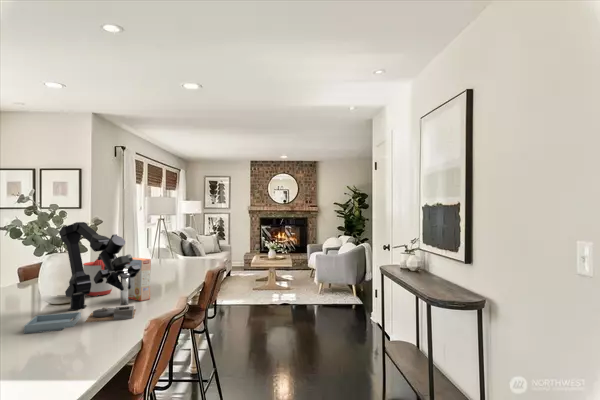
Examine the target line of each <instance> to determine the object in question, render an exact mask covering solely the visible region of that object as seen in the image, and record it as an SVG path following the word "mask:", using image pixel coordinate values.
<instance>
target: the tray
mask: <svg viewBox="0 0 600 400" xmlns="http://www.w3.org/2000/svg"><path fill="white" fill-rule="evenodd" d="M81 318H82V312H81V311H79V312H77V311H75V312H68V313H67V312H66V313H65V312H63V313H52V314H51V313H50V314H40V315H38V314H37V315H35V316H33V318H32V319H30V320H29V321H28V322H27V323H26V324H24V325H23V327H24V328H23V329H24V330H23V334H24V335H25V334H35V333H36V334H37V333H47V332H56V331H57V332H58V331H63V330H64V329H65V328H74V326H75V325H76V324H77V323H78V322H79V320H80V319H81Z"/></svg>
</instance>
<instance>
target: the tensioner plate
mask: <svg viewBox="0 0 600 400" xmlns="http://www.w3.org/2000/svg"><path fill="white" fill-rule="evenodd" d="M134 308H135V307H134V305H124V306H116V307H108V306H104V307H102V308H98V309H95V310H93V311H92V312H91V313H90V314H89V315H88V316H87V318H86V320H85V321H84V323H86V324H87V323H94V322H96V323H97V322H107V321H119V320H131V319H134V318H135V315H136V311H137V309H136V308H135V309H134Z"/></svg>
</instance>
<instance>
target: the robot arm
mask: <svg viewBox="0 0 600 400" xmlns="http://www.w3.org/2000/svg"><path fill="white" fill-rule="evenodd" d="M58 234H59V236H60V240H61V241H62V243H64V244H65V245H66V249H67V255H68V261H69V265H70V266H69V267H70V271H71V277H70V279H69V280H68V283H69V285H68V286H67V289H66V290H65V291H64V292H65V297H68V298H70V303H69V304H70V305H69V306H70V307H69V308H67V311H78V310H85V309H86V307H87V304H85V303H86V302H85V301H86V299H85V298H86V296H85V295H87V294H89V293H90V289H91V280H90V275H89V274H88V275H86V274H85V273H84V265H83V264H84V263H83V260H82V255H81V254H82V253H81V250H80V241H81V239H82V237H83V238H84V239H85V240H87V241H88V242H89V247H90V248H91V249H92V251H93V252H100V253H99V254H98V257H97V259H98V260H102V261H103V263H104V265H105V267H104V269H105V270H99V271H98V272H97V274H96V275H95V277H94V282H95V283H96V284H98V283H102V282H103V278H106V279H107V281H106V283H108V284H110V285H112V286H113V287H114V288H117V290H119V291H120V292H121V291H123V290H124V288H123V286H122V284H121V279H120V278H119V275H120V274H121V273H130V276H129V282H128V289H130V288H131V283H130V278H133V277H135V276H136V275H137V274H138V272H139V271H140V267H139V265H133V266H130V267H129V268H128V269H126V270H125V267H126V264H128V263H130V262H131V261H132V260H133V256H132V255H131V254H130V253H128V254H126V255H120V256H117V255H118V254H119V253H120V252H121V250H122V249H123V247H124V246H125V244H126V239H124V238H123V237H122V236H118V233H117V234H116V233H115V234H111V236H110V238H109V237H107V236H105V235H101V234H99V233H98V232H96V231H95V230H94V229H93V228H91V227H90V226H89V225H88V223H87V222H85V221H79V222H78V221H77V222H74V223H72V224H68V225H65V226H62V227H61V228H60V229H59V233H58Z"/></svg>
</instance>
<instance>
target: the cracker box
mask: <svg viewBox="0 0 600 400" xmlns="http://www.w3.org/2000/svg"><path fill="white" fill-rule="evenodd" d="M132 258H133V260H132V261H131V262H130V263H128V264H126V267H125V268H124V270H126V269H128V268H129V267H130V266H133V265H139V267H140V271H139V272H138V274H137V275H136V276H135V277H133V278H130V283H131V288H130V289H128V300H133V301H138V302H143V301H148V300H150V299H151V270H152V269H151V268H152V265H151V264H152V259H151V258H146V257H145V258H143V257H133V256H132Z"/></svg>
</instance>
